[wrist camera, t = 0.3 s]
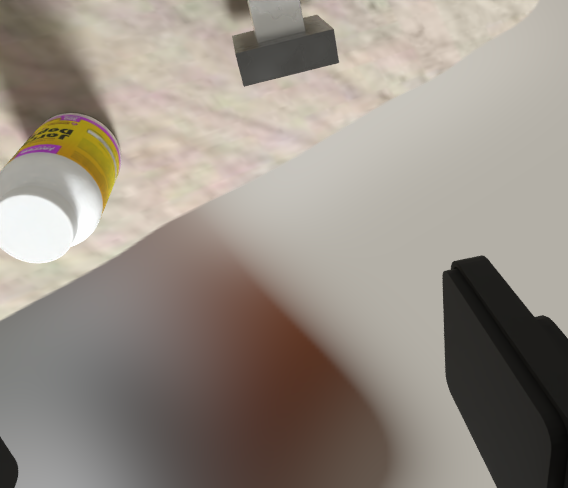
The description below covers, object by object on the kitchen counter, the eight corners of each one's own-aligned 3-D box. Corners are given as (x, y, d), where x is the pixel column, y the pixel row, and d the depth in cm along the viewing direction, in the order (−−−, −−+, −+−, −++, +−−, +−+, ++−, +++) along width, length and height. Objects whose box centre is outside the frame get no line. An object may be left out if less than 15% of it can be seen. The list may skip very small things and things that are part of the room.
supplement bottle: (91, 95, 41) (46, 158, 30) (138, 169, 44) (114, 250, 33) (15, 133, 41) (-56, 208, 30) (67, 203, 45) (20, 293, 34)
